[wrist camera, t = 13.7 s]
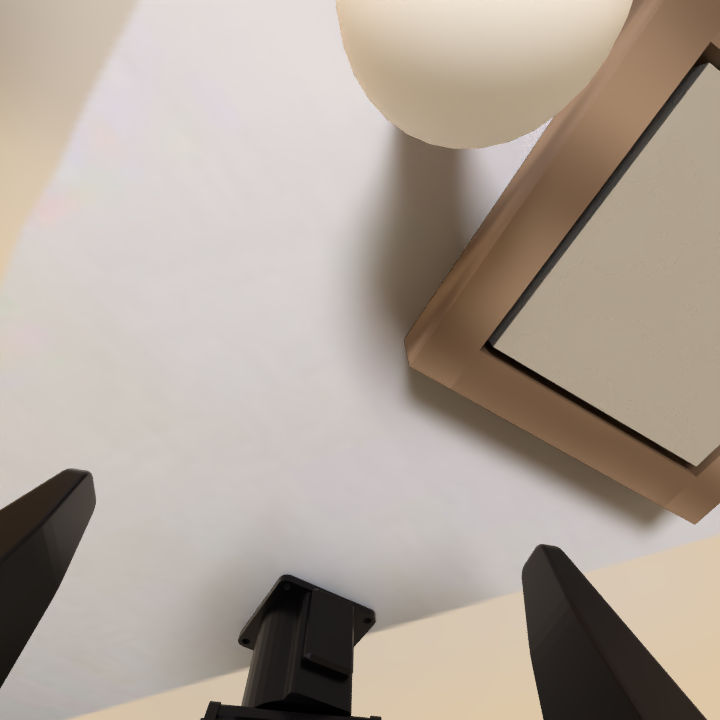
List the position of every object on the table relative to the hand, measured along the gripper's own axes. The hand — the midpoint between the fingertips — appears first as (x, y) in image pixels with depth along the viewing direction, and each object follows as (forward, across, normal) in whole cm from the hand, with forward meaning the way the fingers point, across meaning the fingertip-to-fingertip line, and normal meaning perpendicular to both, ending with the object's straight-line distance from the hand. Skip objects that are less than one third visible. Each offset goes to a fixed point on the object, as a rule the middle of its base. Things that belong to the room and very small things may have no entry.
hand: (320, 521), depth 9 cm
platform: (+12, -13, -3) cm, 18 cm away
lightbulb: (+15, -1, -8) cm, 17 cm away
